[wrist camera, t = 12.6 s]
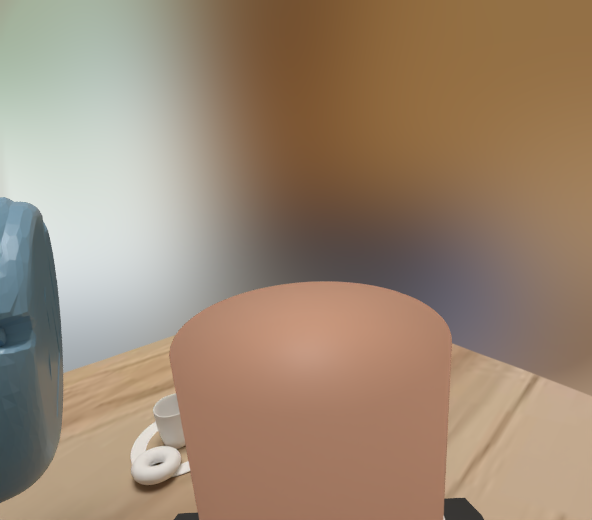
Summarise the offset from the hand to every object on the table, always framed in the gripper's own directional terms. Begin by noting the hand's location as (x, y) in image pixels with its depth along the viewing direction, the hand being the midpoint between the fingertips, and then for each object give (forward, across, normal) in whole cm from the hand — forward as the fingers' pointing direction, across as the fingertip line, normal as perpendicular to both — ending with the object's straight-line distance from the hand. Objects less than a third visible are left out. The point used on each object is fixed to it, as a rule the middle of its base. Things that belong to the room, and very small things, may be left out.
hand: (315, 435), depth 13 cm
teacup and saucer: (+14, -15, -14) cm, 25 cm away
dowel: (-5, 0, -11) cm, 12 cm away
